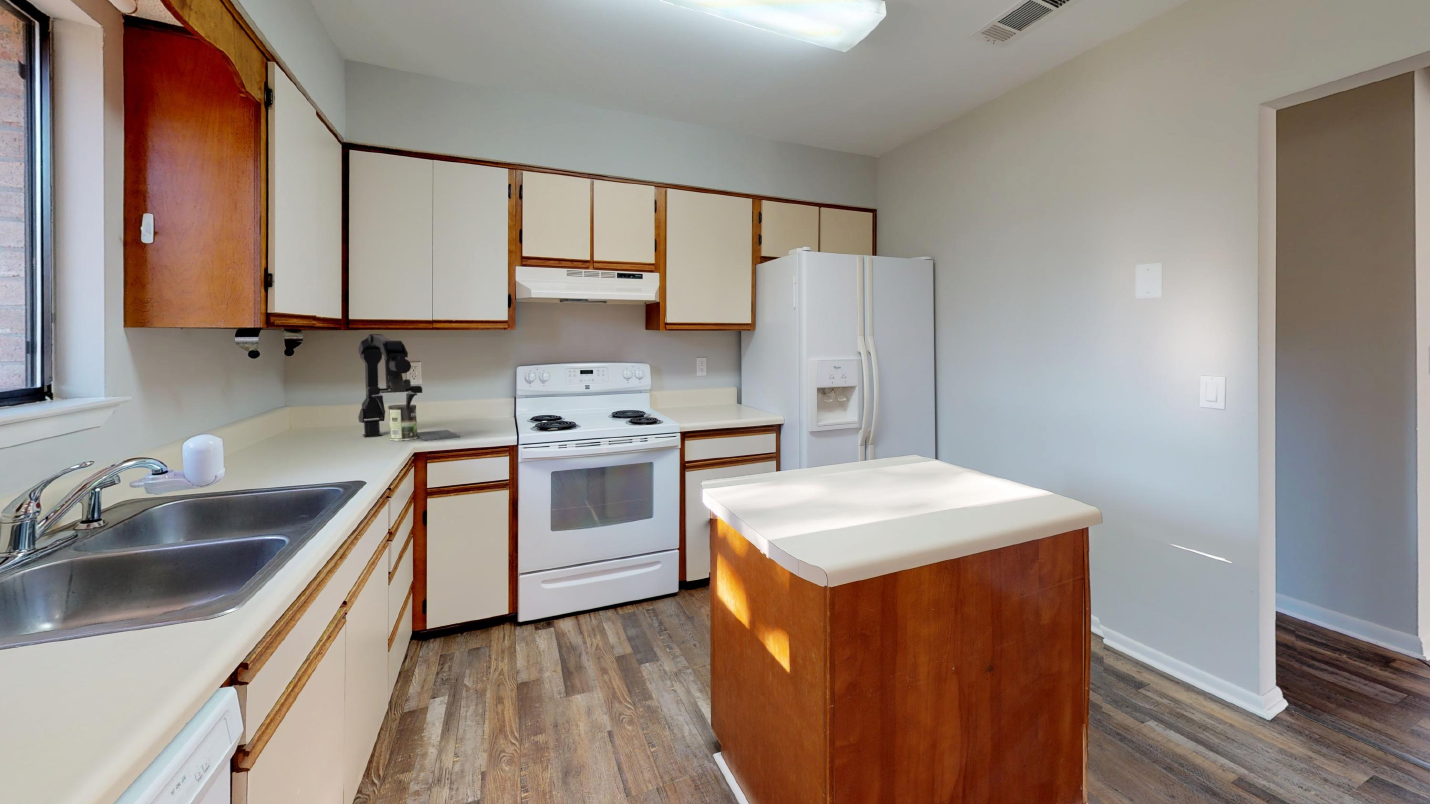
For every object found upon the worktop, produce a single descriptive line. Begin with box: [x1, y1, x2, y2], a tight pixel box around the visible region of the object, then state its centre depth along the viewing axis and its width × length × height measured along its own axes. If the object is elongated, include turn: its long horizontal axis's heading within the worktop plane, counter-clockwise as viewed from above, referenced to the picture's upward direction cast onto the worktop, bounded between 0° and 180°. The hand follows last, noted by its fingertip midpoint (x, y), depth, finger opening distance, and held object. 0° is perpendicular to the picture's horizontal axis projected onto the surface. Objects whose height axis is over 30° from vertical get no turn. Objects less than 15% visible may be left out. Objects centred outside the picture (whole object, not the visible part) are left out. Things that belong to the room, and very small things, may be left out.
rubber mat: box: [417, 429, 461, 441], centre depth 243 cm, size 20×14×1 cm
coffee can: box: [387, 403, 418, 442], centre depth 235 cm, size 10×10×14 cm
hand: (395, 411), depth 221 cm, fingers open, 8 cm apart
